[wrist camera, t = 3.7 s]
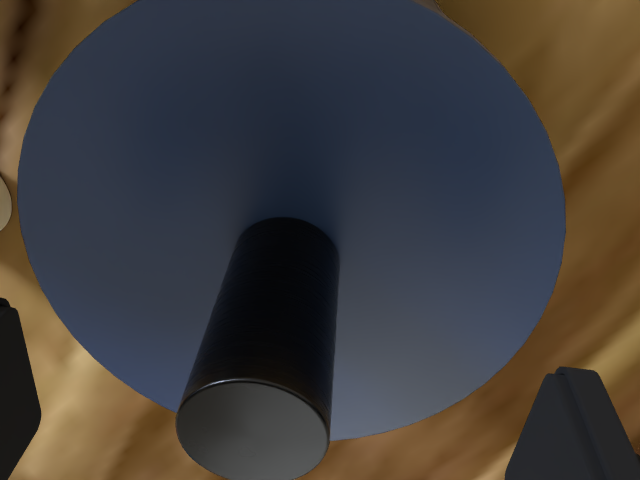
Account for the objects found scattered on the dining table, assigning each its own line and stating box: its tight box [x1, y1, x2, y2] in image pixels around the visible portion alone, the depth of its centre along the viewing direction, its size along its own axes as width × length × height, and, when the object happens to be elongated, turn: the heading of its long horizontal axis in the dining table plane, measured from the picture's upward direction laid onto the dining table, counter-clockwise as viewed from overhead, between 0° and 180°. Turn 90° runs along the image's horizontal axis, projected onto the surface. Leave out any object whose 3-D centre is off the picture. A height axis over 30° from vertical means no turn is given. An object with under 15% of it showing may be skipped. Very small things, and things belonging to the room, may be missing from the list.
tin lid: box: [17, 0, 566, 480], centre depth 12 cm, size 13×13×6 cm
